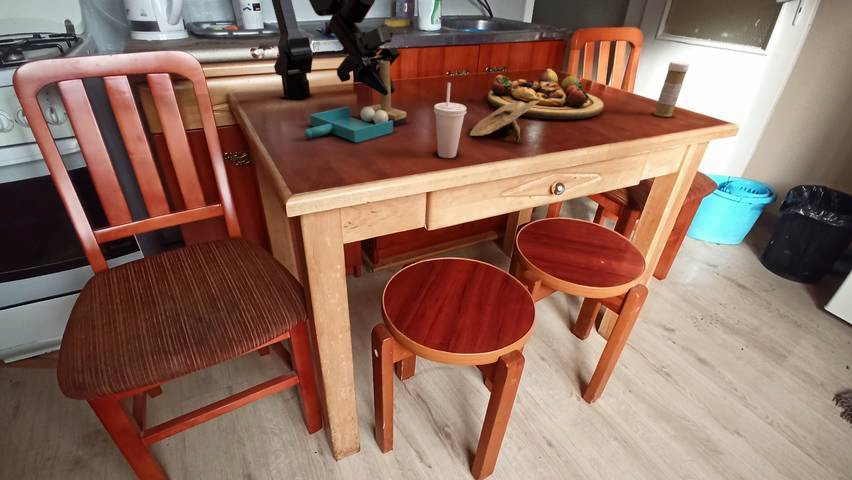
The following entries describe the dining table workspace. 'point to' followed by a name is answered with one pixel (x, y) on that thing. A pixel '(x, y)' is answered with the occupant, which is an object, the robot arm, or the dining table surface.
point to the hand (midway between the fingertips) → (390, 93)
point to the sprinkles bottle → (671, 88)
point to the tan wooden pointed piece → (503, 119)
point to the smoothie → (448, 126)
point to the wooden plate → (546, 96)
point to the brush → (388, 97)
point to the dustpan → (345, 126)
